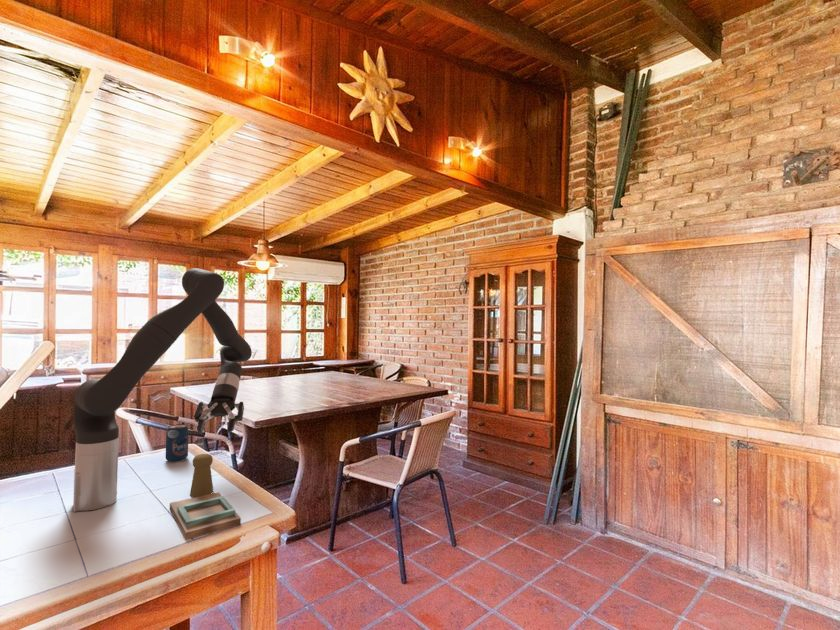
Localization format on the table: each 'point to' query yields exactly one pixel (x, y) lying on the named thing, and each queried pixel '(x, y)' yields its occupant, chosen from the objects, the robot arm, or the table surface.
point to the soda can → (177, 443)
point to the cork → (202, 476)
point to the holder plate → (204, 514)
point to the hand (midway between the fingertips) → (214, 431)
